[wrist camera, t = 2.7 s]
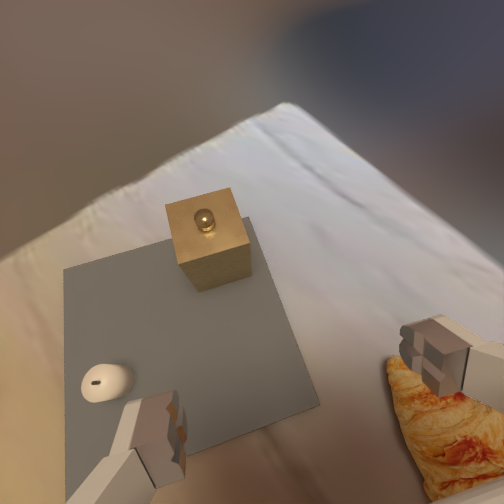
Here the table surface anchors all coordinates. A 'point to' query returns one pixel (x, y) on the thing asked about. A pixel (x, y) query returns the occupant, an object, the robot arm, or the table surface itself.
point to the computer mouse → (107, 382)
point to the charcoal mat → (177, 350)
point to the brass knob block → (210, 239)
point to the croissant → (446, 434)
